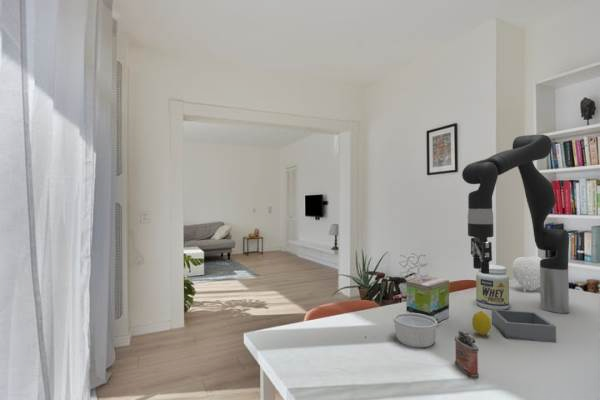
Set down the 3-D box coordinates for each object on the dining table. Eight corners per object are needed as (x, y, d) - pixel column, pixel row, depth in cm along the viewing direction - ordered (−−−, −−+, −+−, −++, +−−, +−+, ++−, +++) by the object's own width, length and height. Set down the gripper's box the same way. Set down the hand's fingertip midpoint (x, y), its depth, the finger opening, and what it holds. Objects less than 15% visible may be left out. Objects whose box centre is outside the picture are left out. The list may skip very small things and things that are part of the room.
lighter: (451, 363, 90) (451, 327, 90) (463, 362, 90) (463, 326, 90) (469, 379, 82) (468, 339, 82) (482, 378, 82) (481, 338, 82)
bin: (491, 323, 120) (491, 309, 120) (535, 326, 117) (535, 312, 117) (506, 338, 106) (506, 323, 106) (556, 342, 103) (555, 326, 103)
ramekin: (436, 335, 109) (435, 314, 109) (439, 352, 97) (438, 329, 97) (394, 330, 114) (394, 310, 114) (392, 346, 101) (392, 323, 101)
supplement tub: (477, 308, 136) (477, 268, 137) (474, 300, 148) (474, 263, 148) (512, 312, 132) (511, 270, 132) (506, 303, 143) (505, 264, 143)
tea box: (431, 327, 116) (430, 285, 116) (405, 320, 124) (405, 280, 124) (450, 317, 126) (449, 279, 126) (425, 311, 134) (425, 275, 134)
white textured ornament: (526, 295, 156) (525, 259, 156) (506, 289, 166) (505, 255, 166) (553, 291, 161) (552, 257, 161) (532, 286, 171) (531, 254, 172)
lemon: (494, 339, 106) (493, 314, 106) (475, 338, 107) (475, 313, 107) (487, 332, 111) (487, 309, 111) (470, 331, 112) (469, 308, 112)
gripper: (500, 223, 102) (501, 276, 101) (485, 221, 115) (486, 267, 115) (474, 223, 103) (474, 275, 103) (462, 221, 117) (463, 266, 117)
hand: (480, 270), depth 109 cm, fingers open, 8 cm apart
